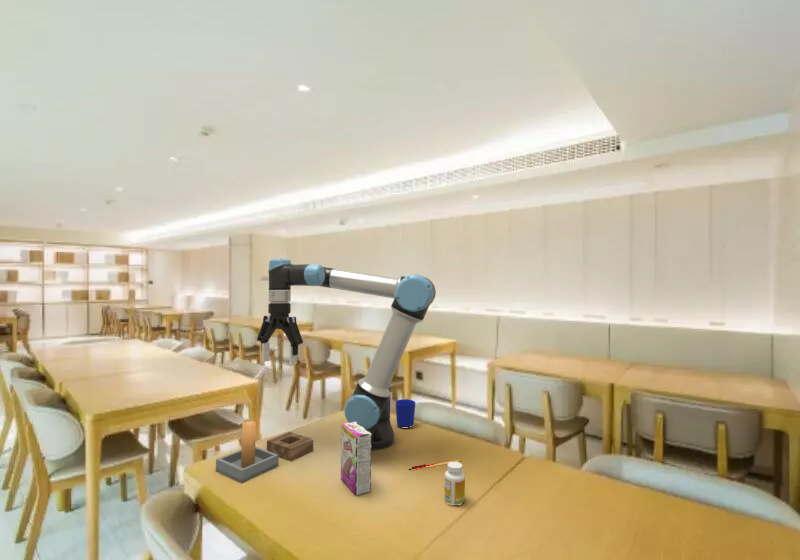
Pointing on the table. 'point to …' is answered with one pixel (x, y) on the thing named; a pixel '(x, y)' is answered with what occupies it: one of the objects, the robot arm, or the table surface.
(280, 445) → the hitch block
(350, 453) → the candy bar box
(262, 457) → the tray
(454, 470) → the supplement bottle
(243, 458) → the pin
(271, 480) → the table surface
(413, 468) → the pen
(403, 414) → the mug
